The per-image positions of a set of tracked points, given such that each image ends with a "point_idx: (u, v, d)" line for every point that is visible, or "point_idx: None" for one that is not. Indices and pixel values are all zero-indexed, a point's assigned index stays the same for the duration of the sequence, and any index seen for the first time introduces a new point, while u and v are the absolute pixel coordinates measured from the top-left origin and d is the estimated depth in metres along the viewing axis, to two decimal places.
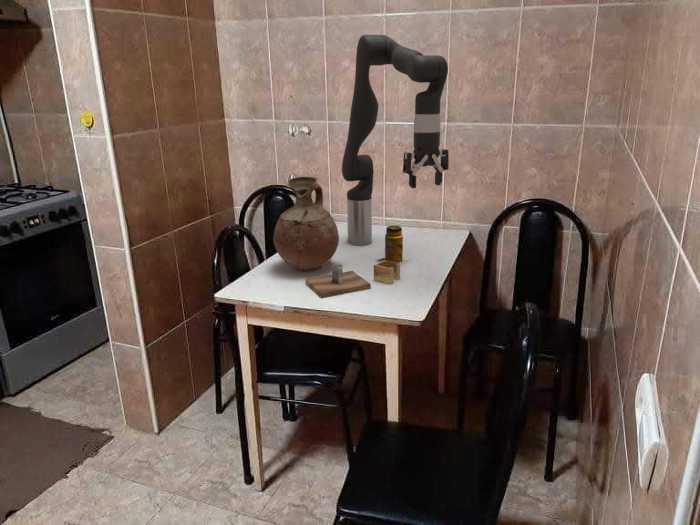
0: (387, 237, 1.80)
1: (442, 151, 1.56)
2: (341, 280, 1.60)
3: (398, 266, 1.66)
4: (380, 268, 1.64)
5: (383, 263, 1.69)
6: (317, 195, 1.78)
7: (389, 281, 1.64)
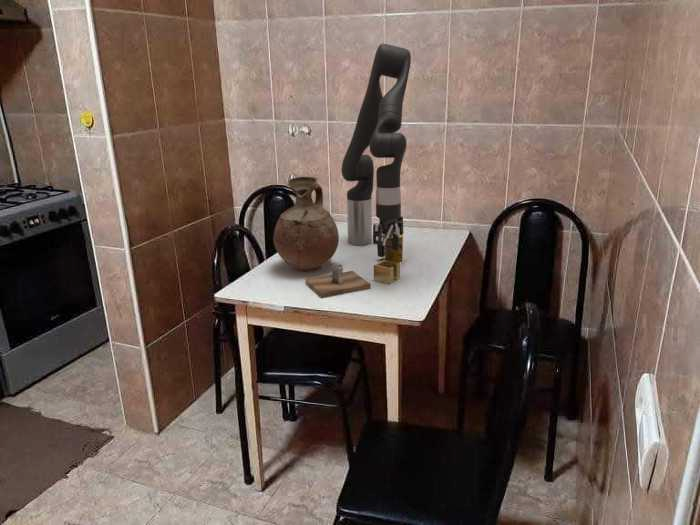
0: None
1: None
2: (341, 280, 1.60)
3: (398, 266, 1.66)
4: (380, 268, 1.64)
5: (383, 263, 1.69)
6: (317, 195, 1.78)
7: (389, 281, 1.64)
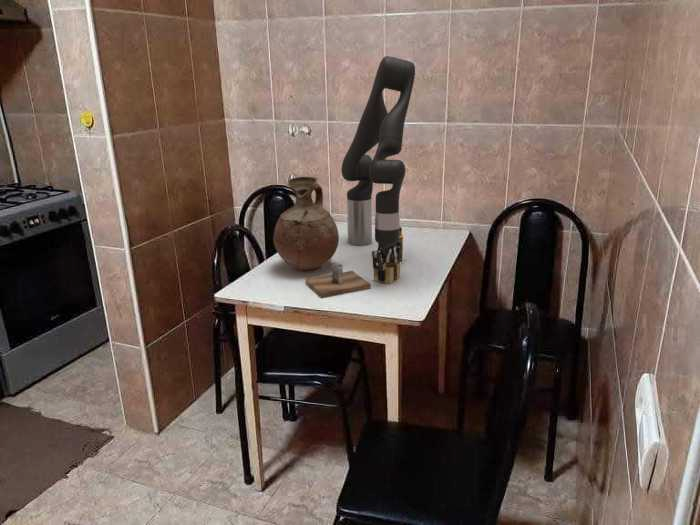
0: None
1: None
2: (341, 280, 1.60)
3: (398, 266, 1.66)
4: None
5: None
6: (317, 195, 1.78)
7: (389, 281, 1.64)
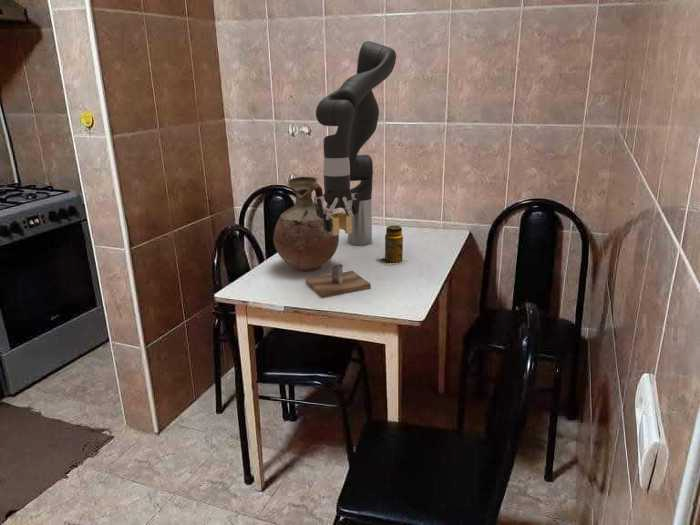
0: (387, 237, 1.80)
1: None
2: (341, 280, 1.60)
3: (348, 219, 1.54)
4: None
5: (339, 215, 1.59)
6: (317, 195, 1.78)
7: (332, 232, 1.54)
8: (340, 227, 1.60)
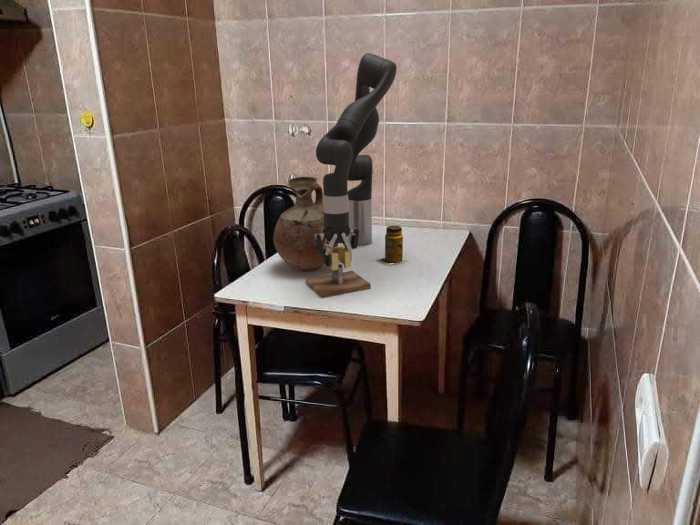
0: (387, 237, 1.80)
1: None
2: (341, 280, 1.60)
3: (347, 254, 1.58)
4: None
5: (339, 249, 1.62)
6: (317, 195, 1.78)
7: (332, 267, 1.57)
8: (339, 261, 1.63)
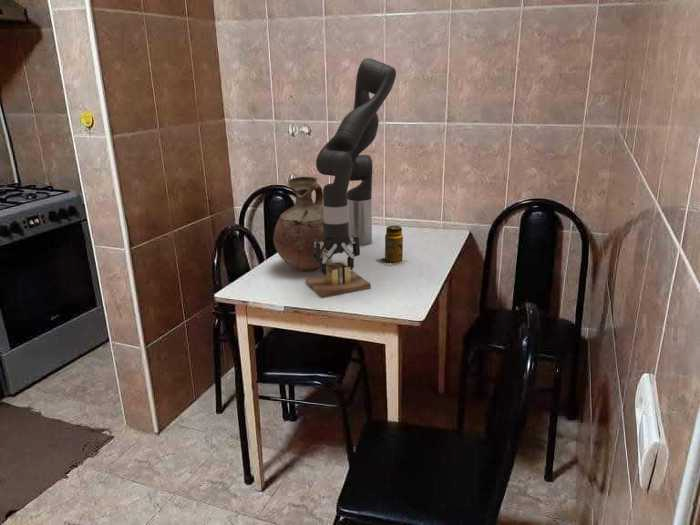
0: (387, 237, 1.80)
1: None
2: (341, 280, 1.60)
3: (347, 270, 1.59)
4: (327, 268, 1.60)
5: None
6: (317, 195, 1.78)
7: (332, 283, 1.59)
8: None
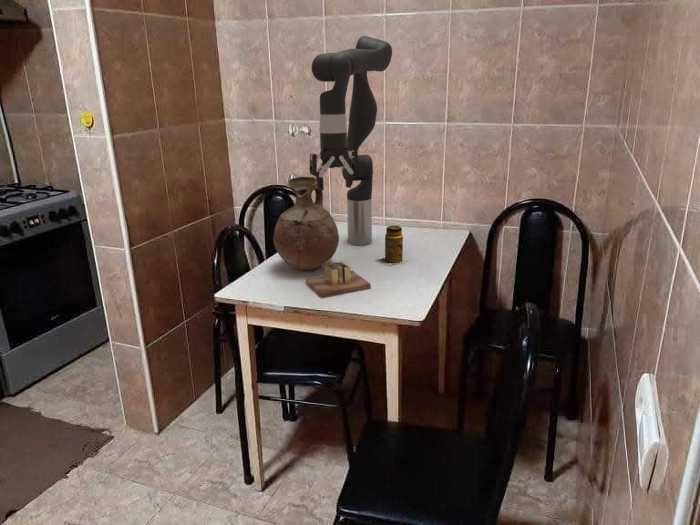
0: (387, 237, 1.80)
1: None
2: (341, 280, 1.60)
3: (347, 270, 1.59)
4: (327, 268, 1.60)
5: None
6: (317, 195, 1.78)
7: (332, 283, 1.59)
8: None
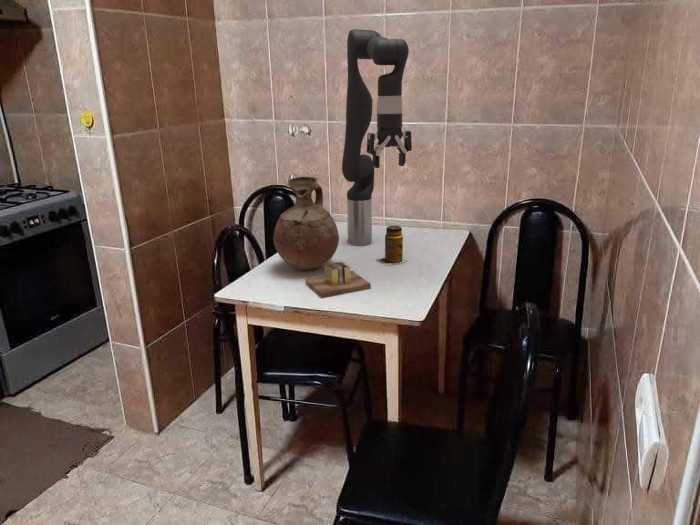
0: (387, 237, 1.80)
1: None
2: (341, 280, 1.60)
3: (347, 270, 1.59)
4: (327, 268, 1.60)
5: None
6: (317, 195, 1.78)
7: (332, 283, 1.59)
8: None
